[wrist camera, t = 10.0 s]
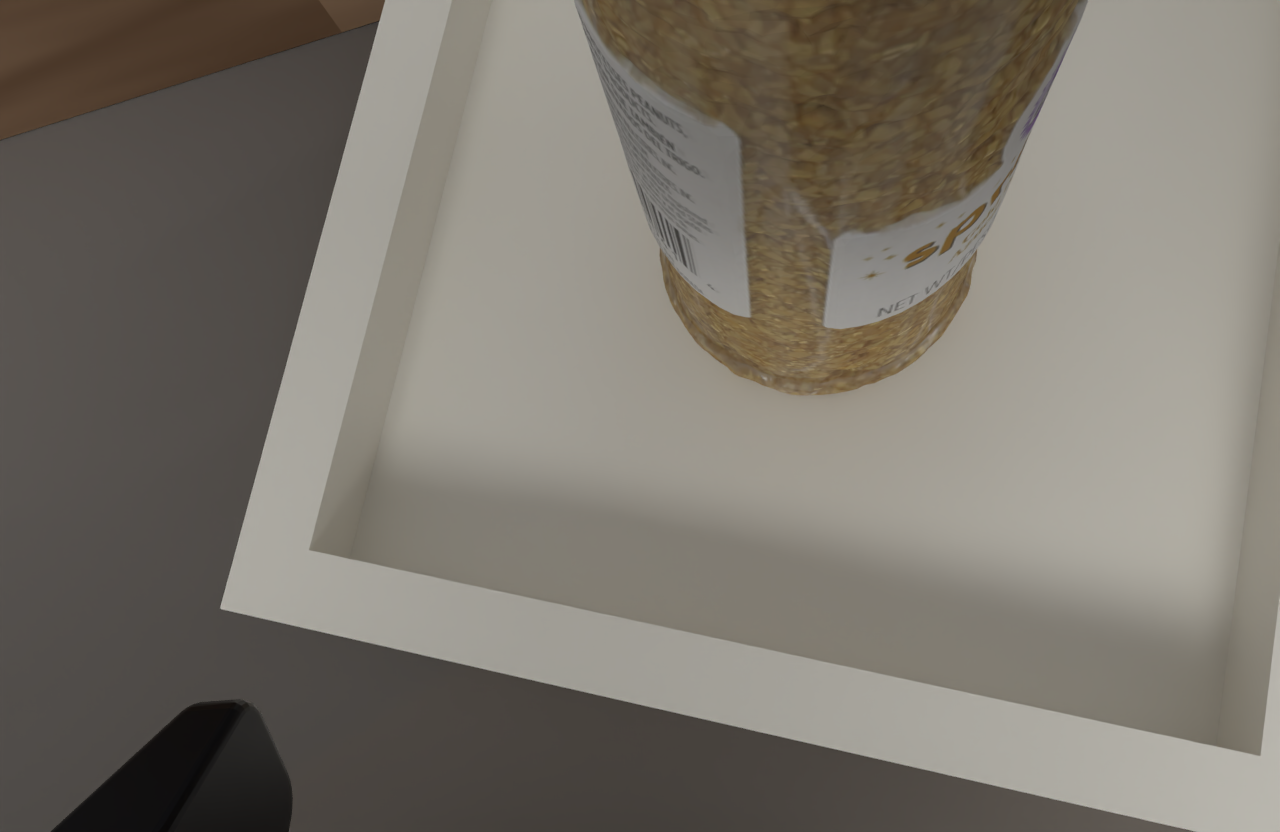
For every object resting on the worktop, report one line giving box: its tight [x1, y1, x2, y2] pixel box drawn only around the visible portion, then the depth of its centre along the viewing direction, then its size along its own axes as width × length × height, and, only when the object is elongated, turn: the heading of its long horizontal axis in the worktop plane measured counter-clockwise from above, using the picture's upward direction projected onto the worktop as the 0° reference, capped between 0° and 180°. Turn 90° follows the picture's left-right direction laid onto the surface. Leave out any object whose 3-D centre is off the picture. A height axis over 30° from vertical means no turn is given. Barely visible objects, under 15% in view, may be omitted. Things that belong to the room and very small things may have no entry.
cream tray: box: [220, 0, 1280, 832], centre depth 17 cm, size 14×14×2 cm
